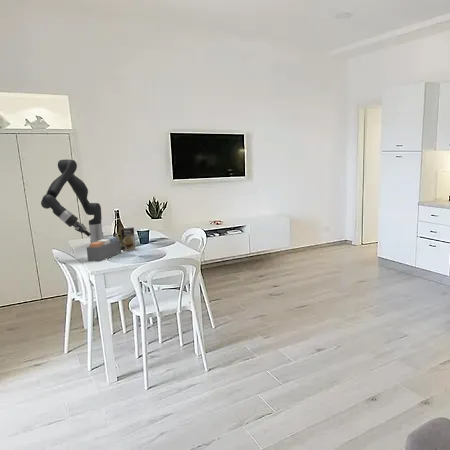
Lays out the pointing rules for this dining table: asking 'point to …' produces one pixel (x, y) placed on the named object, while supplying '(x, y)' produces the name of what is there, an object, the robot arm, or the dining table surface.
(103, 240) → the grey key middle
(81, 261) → the dining table surface
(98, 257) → the block
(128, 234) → the coffee box
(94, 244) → the terracotta key
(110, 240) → the slate key
